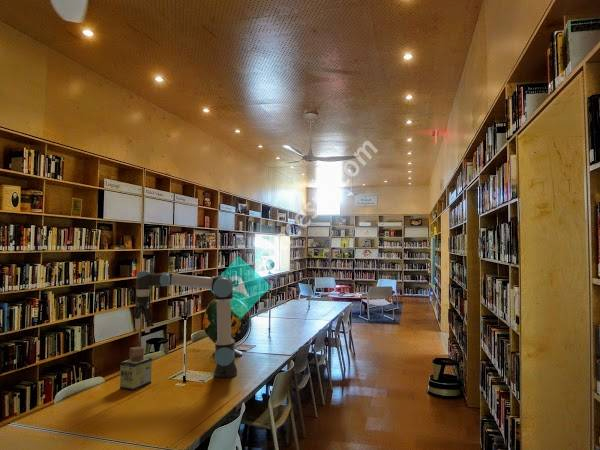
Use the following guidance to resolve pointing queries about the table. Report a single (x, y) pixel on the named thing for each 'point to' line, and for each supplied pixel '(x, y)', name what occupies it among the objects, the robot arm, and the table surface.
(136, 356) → the walnut block
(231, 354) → the robot arm
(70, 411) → the table surface
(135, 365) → the protein box
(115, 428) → the table surface
